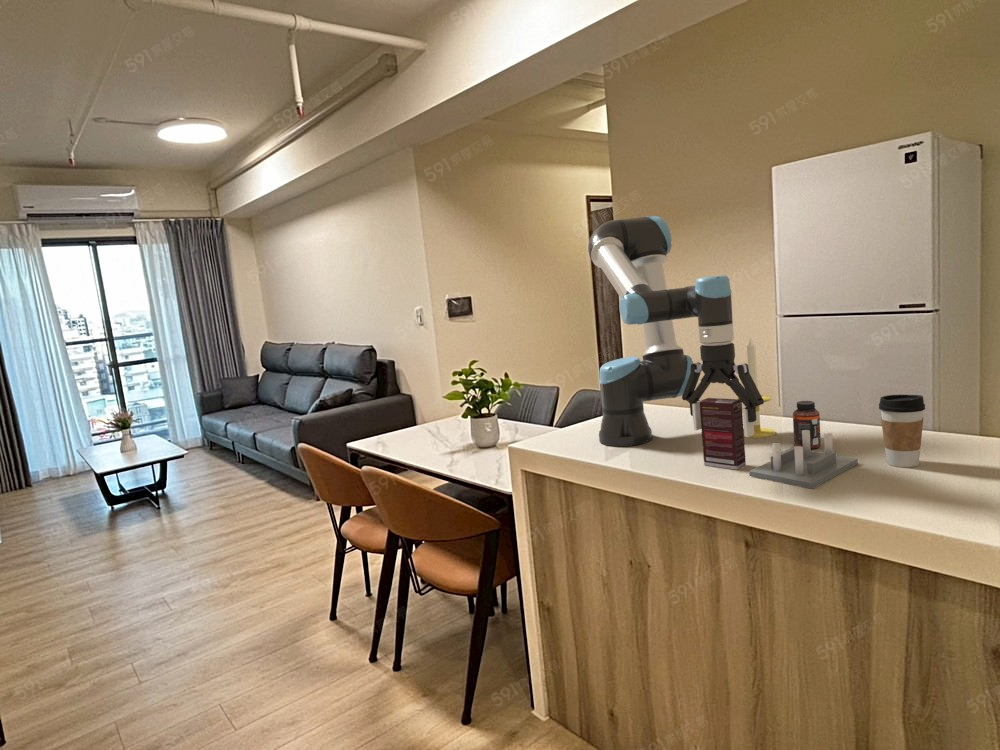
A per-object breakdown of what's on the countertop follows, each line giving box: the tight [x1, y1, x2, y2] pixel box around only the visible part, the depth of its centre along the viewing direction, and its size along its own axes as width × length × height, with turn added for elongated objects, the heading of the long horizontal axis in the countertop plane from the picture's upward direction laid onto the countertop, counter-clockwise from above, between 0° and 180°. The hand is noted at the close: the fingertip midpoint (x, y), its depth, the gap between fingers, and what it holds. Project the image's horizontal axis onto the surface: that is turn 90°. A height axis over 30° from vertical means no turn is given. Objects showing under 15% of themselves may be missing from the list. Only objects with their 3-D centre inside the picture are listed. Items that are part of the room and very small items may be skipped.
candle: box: [737, 336, 776, 439], centre depth 167 cm, size 10×10×27 cm
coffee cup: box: [878, 394, 926, 468], centre depth 132 cm, size 8×8×15 cm
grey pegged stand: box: [748, 430, 859, 490], centre depth 136 cm, size 14×20×7 cm
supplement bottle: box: [792, 400, 822, 450], centre depth 152 cm, size 6×6×11 cm
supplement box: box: [698, 397, 747, 470], centre depth 145 cm, size 9×5×16 cm, turn 43°
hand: (723, 432), depth 144 cm, fingers open, 13 cm apart
